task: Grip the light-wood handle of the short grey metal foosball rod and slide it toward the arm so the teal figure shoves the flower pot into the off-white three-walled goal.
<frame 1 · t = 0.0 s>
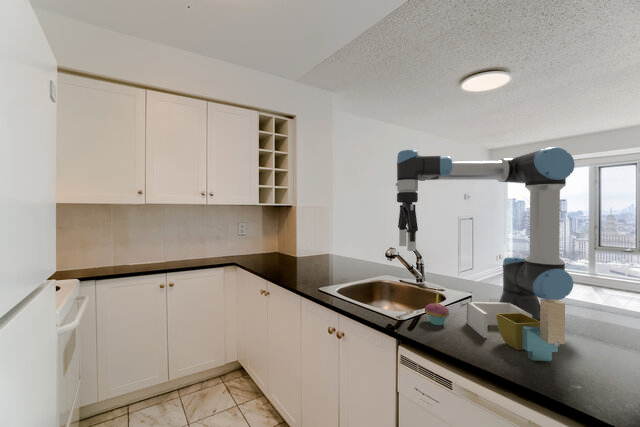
hand: (406, 248, 108), 28 cm above the countertop, tool pointing down, fingers open, 13 cm apart
cupcake: (436, 323, 108), on the countertop
goal: (497, 330, 101), on the countertop
flower pot: (518, 347, 89), on the countertop
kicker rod: (546, 331, 77), point 10 cm above the countertop, slide at 0.0 cm
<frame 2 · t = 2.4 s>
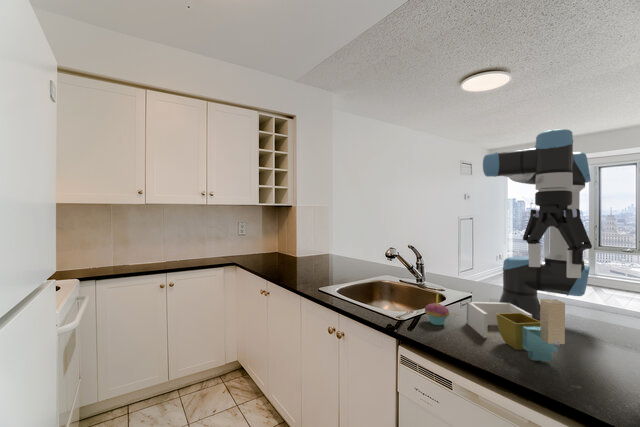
hand: (552, 271, 75), 26 cm above the countertop, tool pointing down, fingers open, 13 cm apart
nothing on the countertop moved.
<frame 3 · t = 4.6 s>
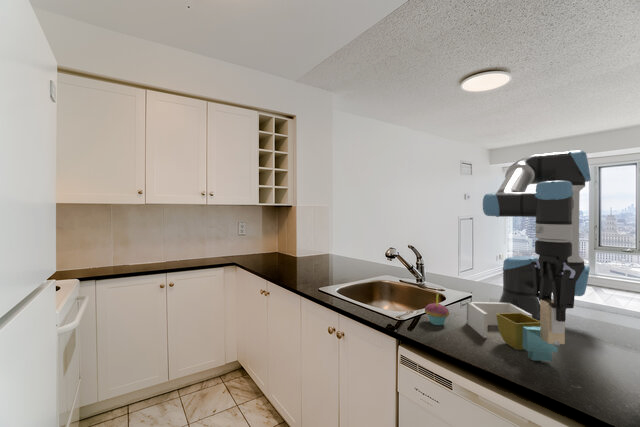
hand: (552, 329, 75), 11 cm above the countertop, tool pointing down, fingers closed on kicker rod, 3 cm apart
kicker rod: (546, 331, 77), point 10 cm above the countertop, slide at 0.0 cm, touching gripper
everything else where it was.
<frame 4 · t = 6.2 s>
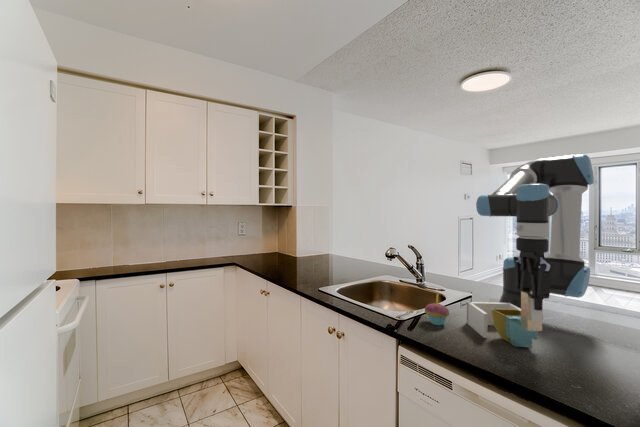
hand: (531, 318, 83), 11 cm above the countertop, tool pointing down, fingers closed on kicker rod, 3 cm apart
flower pot: (512, 341, 92), on the countertop, touching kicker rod
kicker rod: (526, 319, 85), point 10 cm above the countertop, slide at 8.1 cm, touching flower pot, gripper
everything else where it was.
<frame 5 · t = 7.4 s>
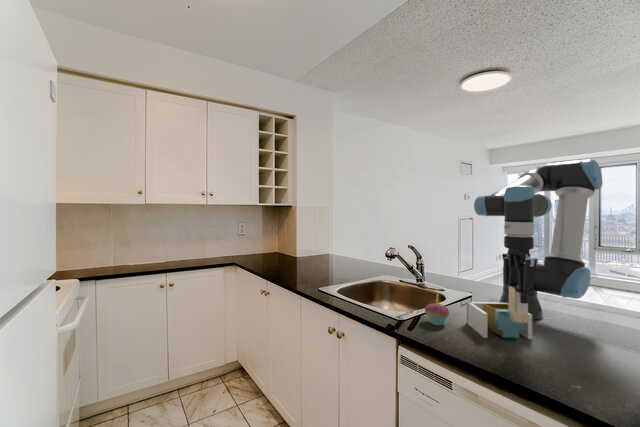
hand: (518, 310, 89), 11 cm above the countertop, tool pointing down, fingers closed on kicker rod, 3 cm apart
flower pot: (501, 333, 98), on the countertop, touching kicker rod
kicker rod: (514, 312, 91), point 10 cm above the countertop, slide at 14.2 cm, touching flower pot, gripper
everything else where it was.
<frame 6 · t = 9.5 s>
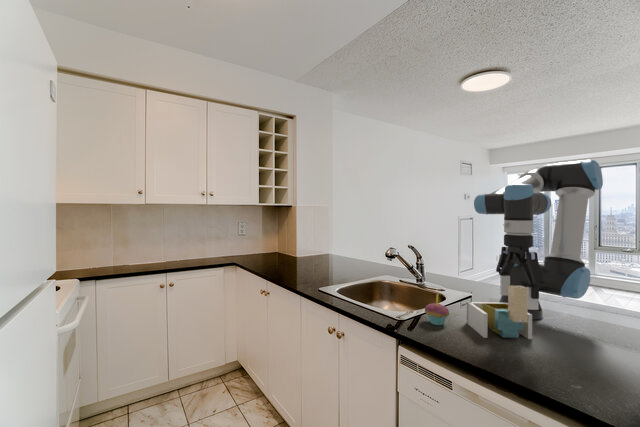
hand: (517, 301, 89), 14 cm above the countertop, tool pointing down, fingers open, 13 cm apart
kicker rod: (513, 312, 91), point 10 cm above the countertop, slide at 14.4 cm, touching flower pot
everything else where it was.
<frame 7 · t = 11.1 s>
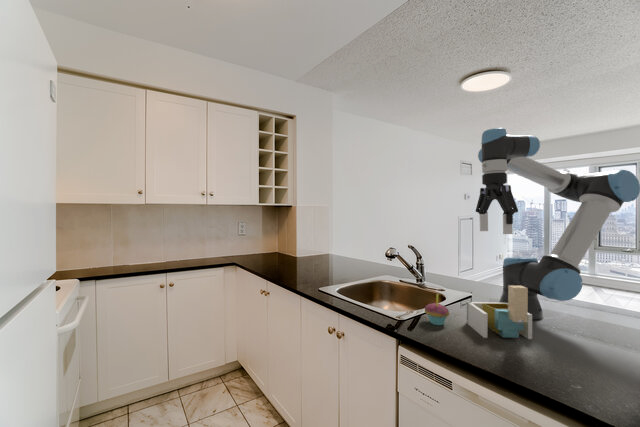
hand: (495, 232, 102), 34 cm above the countertop, tool pointing down, fingers open, 13 cm apart
nothing on the countertop moved.
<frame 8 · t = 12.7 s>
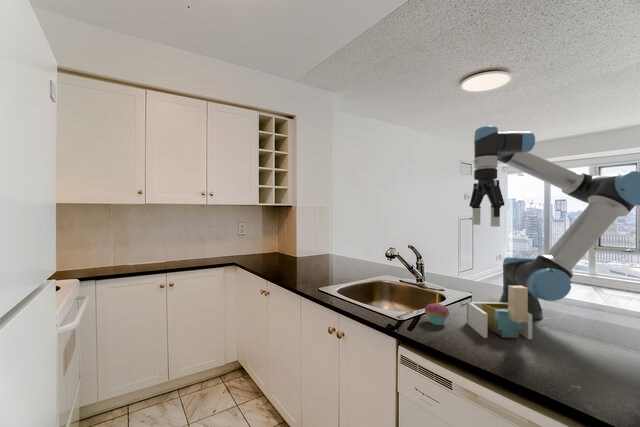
hand: (485, 225, 107), 37 cm above the countertop, tool pointing down, fingers open, 13 cm apart
nothing on the countertop moved.
at the end: flower pot inside the target area (1.0 cm from its centre), on the countertop; flower pot tilted 5°; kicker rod slide at 14.4 cm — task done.
